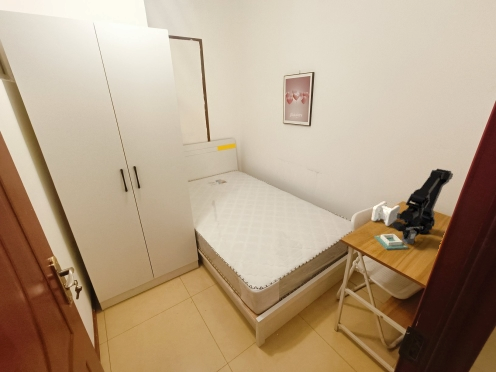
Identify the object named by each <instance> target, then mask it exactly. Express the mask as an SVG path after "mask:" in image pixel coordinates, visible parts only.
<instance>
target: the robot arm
mask: <svg viewBox="0 0 496 372" xmlns="http://www.w3.org/2000/svg"><path fill="white" fill-rule="evenodd" d="M453 176H454V173H452V170H447V169H442V168H437V169H432V170H431V172H430V174H429V176H428V178H427V179H426V180H425V182H424V183H423V184H422V186H421V187H419V188H418V189H415V190H414V191H413V193H411V194H410V195H409V196H408V199H407V201H406V203H405V206H408V207H407V208H405V209H404V210H403V211H401V212H400V213H397V220H399V221H395V222H393V223H392V224H391V225H392V226H391V227H392V228H394V229H395V230H396V231H397V232H400V233H401V232H402V237H404V239H406V238H407V236H408V235H409V233H410V231H409V228H413V229H414V230H415V231H417V233H416V237H417V236H418V235H431V233H432V232H431V230H432V229H433V227H435V224H436V218H435V215H436V214H435V211H434V208H435V206H436V203H437V201H438V199H439V197H440V194H441V192H442V189H443V187H444V186H445V185H447V184H448V183H449V182H450V180H452V179H453ZM401 221H402V222H403V223H402V222H401Z"/></svg>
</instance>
